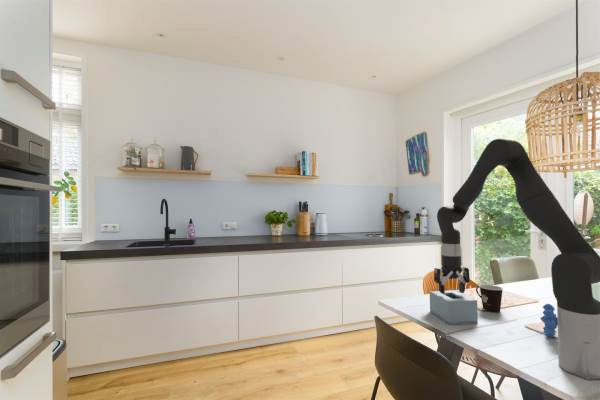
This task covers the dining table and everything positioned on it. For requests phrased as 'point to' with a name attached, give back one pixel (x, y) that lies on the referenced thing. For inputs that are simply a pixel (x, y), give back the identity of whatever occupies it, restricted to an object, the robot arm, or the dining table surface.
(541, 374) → the dining table surface
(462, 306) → the box
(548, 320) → the grapes
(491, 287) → the coffee mug
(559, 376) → the dining table surface
